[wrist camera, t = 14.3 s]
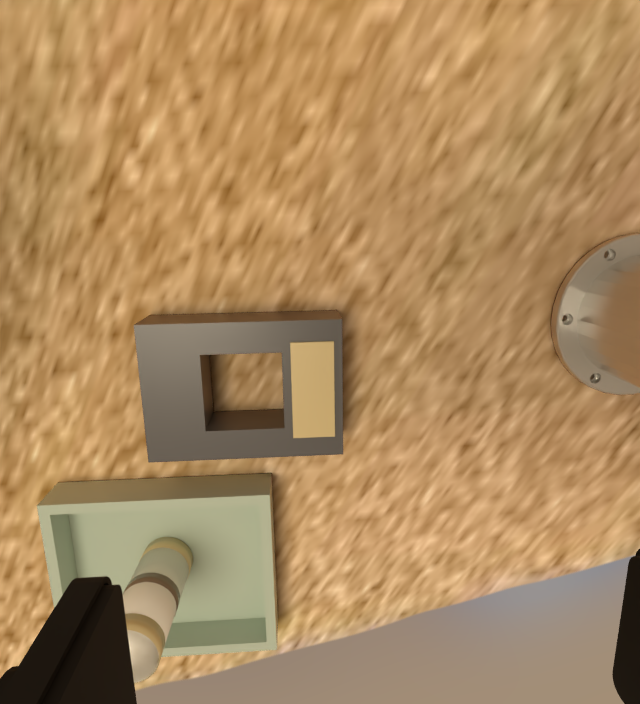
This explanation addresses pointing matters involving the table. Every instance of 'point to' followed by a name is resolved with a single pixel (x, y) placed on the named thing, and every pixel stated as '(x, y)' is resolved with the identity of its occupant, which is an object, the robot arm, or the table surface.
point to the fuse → (154, 601)
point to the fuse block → (248, 425)
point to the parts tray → (188, 526)
